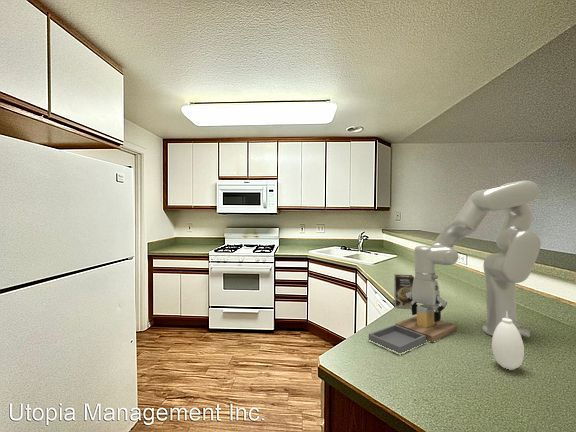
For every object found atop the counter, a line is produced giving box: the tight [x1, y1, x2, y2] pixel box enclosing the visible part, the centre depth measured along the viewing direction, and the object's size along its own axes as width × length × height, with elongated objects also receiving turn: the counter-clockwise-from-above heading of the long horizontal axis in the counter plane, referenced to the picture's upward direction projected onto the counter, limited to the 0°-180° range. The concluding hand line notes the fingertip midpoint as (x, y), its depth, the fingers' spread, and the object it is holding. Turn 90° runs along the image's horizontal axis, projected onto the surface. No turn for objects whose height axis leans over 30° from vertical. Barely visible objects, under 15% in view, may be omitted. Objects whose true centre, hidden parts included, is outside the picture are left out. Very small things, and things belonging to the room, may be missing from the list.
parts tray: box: [368, 324, 427, 353], centre depth 109 cm, size 14×16×3 cm
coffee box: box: [393, 274, 415, 310], centre depth 150 cm, size 9×6×16 cm
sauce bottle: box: [491, 311, 525, 371], centre depth 90 cm, size 8×8×18 cm
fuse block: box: [416, 304, 435, 329], centre depth 119 cm, size 4×6×10 cm, turn 123°
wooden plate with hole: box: [394, 315, 458, 343], centre depth 119 cm, size 16×18×2 cm
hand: (425, 317), depth 119 cm, fingers open, 9 cm apart
